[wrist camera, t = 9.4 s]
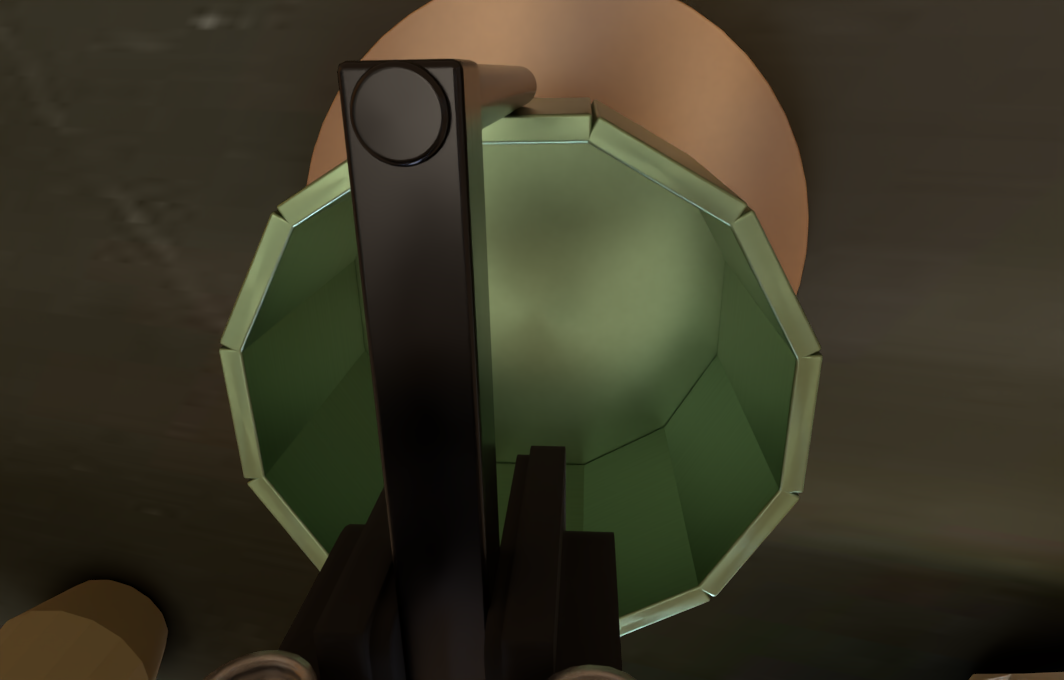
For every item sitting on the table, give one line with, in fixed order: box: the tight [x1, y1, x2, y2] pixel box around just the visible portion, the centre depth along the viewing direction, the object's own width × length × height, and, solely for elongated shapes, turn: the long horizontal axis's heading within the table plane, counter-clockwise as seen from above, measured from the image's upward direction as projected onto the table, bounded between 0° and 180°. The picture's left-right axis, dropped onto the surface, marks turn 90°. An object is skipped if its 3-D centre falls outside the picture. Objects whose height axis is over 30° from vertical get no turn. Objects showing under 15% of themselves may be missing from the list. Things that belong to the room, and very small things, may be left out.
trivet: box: [306, 0, 809, 295], centre depth 28 cm, size 20×20×1 cm
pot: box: [219, 59, 823, 680], centre depth 15 cm, size 12×14×15 cm
